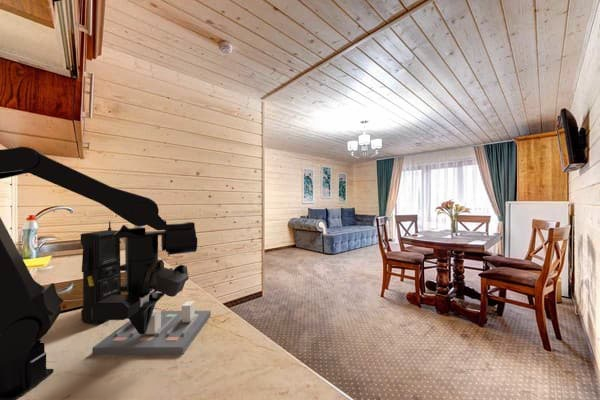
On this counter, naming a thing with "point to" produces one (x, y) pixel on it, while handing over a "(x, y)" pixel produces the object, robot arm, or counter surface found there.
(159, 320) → the breaker middle
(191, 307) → the block
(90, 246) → the portable radio
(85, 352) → the counter surface
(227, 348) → the counter surface
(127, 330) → the panel
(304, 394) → the counter surface
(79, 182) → the robot arm
